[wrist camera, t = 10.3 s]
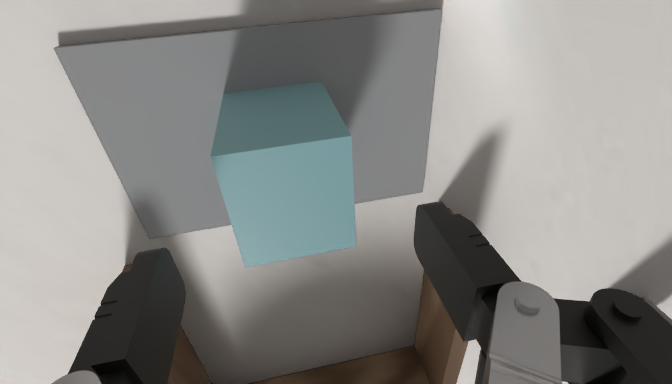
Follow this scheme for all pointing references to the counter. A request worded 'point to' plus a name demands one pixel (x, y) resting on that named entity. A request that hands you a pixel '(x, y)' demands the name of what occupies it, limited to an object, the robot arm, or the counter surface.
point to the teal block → (285, 172)
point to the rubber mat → (251, 74)
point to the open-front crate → (369, 372)
